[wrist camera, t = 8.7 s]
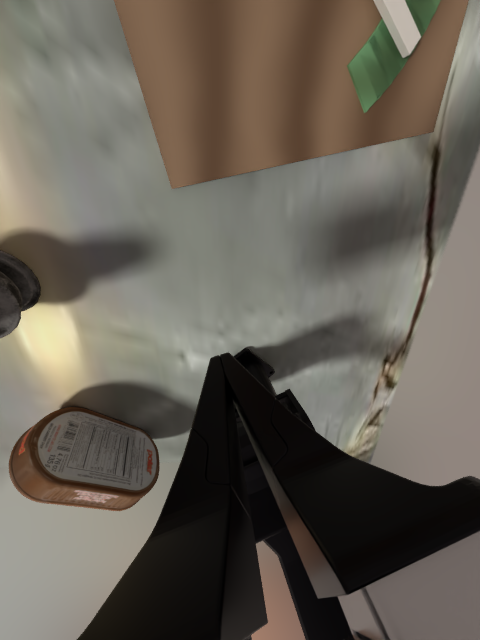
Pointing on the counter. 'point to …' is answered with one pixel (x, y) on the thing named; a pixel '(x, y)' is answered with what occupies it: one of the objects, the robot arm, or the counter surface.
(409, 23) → the crank handle
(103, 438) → the tin
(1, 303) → the salt shaker
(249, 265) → the counter surface
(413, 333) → the counter surface
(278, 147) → the dial plate
